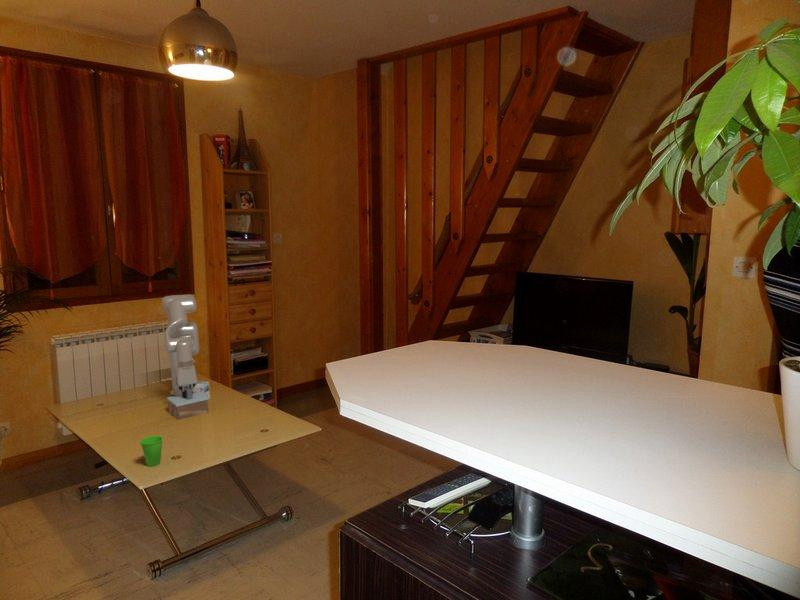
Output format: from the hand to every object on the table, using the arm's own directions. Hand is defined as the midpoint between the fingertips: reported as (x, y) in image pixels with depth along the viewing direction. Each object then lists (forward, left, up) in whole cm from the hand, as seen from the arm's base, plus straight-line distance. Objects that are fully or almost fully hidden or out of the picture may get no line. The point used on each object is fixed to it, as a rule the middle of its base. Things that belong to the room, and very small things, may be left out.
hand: (187, 396), depth 293 cm
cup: (+51, -33, -10) cm, 62 cm away
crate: (0, 0, -10) cm, 10 cm away
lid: (0, 0, -3) cm, 3 cm away
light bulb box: (-18, +12, -10) cm, 24 cm away
